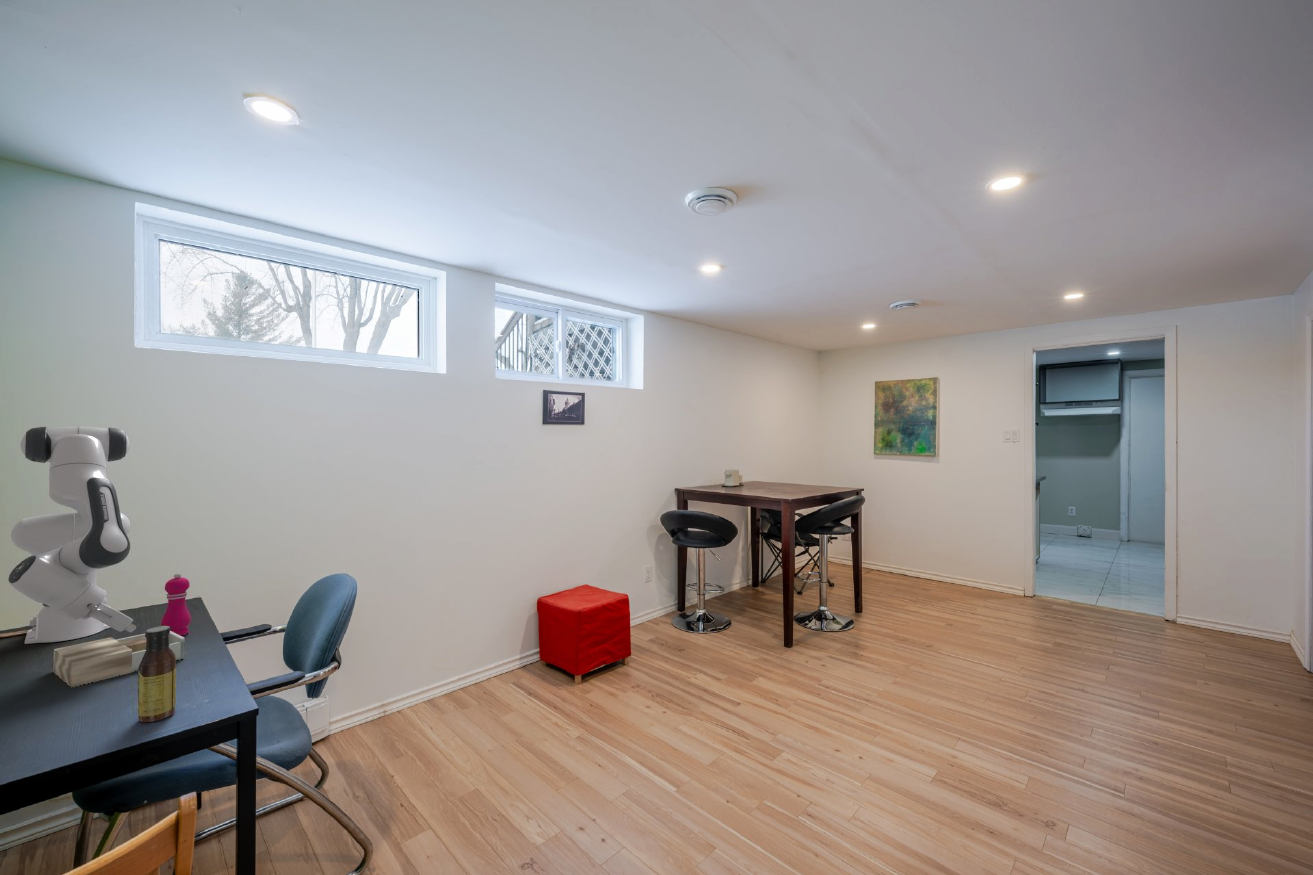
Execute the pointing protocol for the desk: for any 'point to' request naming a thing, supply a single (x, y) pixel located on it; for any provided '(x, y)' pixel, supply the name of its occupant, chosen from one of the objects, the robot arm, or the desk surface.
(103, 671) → the beige box sleeve
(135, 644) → the walnut block
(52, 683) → the desk surface
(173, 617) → the pepper mill
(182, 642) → the tray
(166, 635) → the sauce bottle
